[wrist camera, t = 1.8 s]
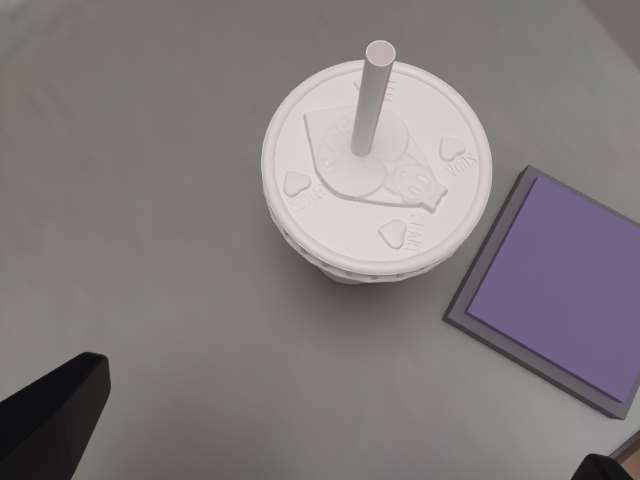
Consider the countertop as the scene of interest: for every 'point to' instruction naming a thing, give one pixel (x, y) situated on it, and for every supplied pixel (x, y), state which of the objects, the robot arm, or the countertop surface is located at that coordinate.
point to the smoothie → (375, 169)
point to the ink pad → (559, 292)
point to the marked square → (630, 456)
